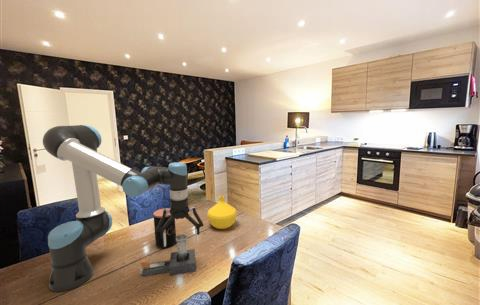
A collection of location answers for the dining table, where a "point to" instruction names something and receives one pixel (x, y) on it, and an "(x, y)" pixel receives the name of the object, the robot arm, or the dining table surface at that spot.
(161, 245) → the coffee jar
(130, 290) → the dining table surface
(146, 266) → the bolt
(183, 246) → the peg
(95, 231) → the robot arm
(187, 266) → the dock
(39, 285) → the dining table surface
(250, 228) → the dining table surface
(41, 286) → the dining table surface
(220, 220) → the vase
